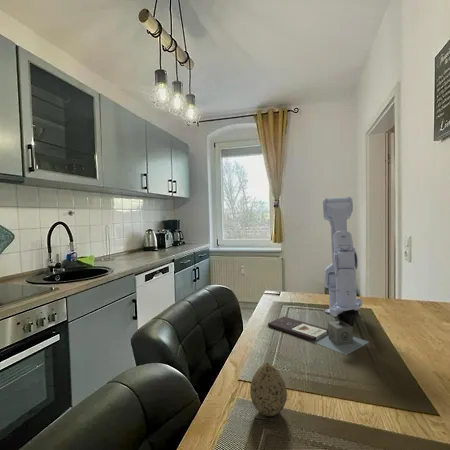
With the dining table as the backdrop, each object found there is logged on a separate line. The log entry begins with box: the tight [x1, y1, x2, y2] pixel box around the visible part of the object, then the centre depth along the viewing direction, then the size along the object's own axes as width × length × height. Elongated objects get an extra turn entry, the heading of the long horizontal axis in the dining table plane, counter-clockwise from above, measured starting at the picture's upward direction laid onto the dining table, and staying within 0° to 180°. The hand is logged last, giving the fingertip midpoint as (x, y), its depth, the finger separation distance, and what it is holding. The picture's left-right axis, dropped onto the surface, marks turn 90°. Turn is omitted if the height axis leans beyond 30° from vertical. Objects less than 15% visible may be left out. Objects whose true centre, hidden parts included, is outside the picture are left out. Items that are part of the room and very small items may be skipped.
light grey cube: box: [327, 320, 354, 345], centre depth 88 cm, size 5×5×5 cm
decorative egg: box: [249, 362, 288, 417], centre depth 58 cm, size 7×7×10 cm
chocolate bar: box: [267, 316, 328, 342], centre depth 97 cm, size 9×1×18 cm
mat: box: [309, 333, 370, 356], centre depth 87 cm, size 12×12×1 cm
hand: (347, 333), depth 90 cm, fingers closed
